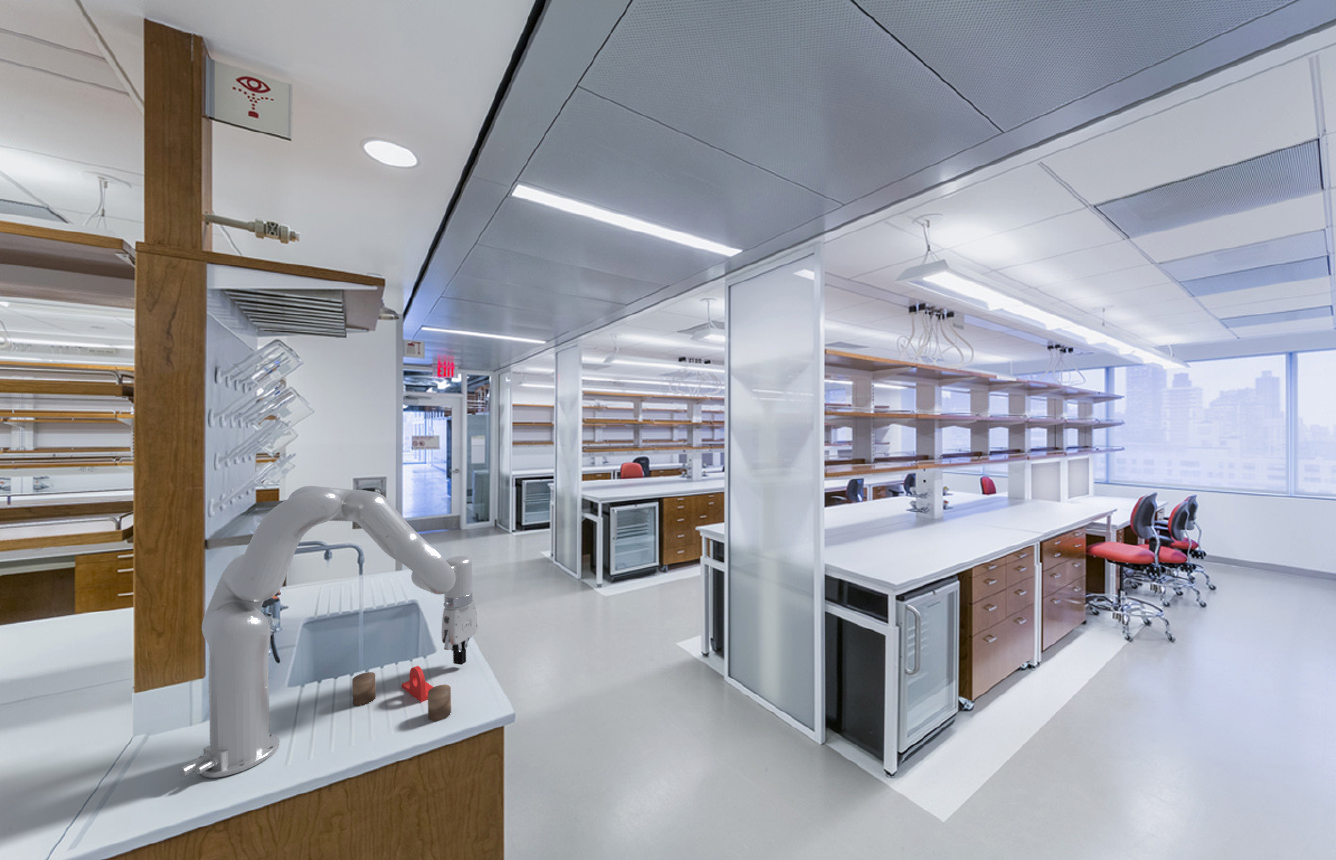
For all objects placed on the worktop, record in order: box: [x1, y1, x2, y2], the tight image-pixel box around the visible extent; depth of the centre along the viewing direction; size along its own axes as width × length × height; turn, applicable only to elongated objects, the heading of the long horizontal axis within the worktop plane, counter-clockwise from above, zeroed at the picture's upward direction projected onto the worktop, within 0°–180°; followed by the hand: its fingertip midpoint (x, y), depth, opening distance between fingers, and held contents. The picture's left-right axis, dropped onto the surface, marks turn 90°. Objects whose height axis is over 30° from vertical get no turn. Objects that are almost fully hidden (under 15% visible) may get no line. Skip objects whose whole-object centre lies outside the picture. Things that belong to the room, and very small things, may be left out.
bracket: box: [401, 665, 434, 703], centre depth 127 cm, size 12×4×8 cm, turn 51°
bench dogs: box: [351, 671, 452, 722], centre depth 119 cm, size 5×29×6 cm, turn 73°
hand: (459, 662), depth 139 cm, fingers closed
